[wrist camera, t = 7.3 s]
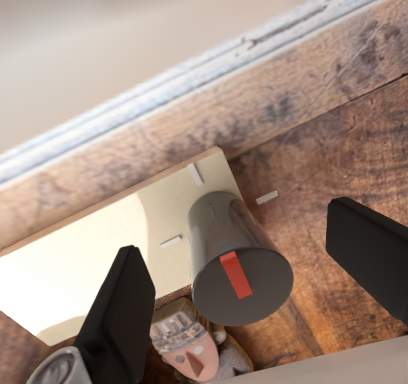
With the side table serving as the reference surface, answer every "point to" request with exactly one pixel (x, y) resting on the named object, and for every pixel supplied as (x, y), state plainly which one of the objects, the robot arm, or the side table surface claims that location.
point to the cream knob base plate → (108, 247)
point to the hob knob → (234, 262)
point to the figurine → (196, 345)
